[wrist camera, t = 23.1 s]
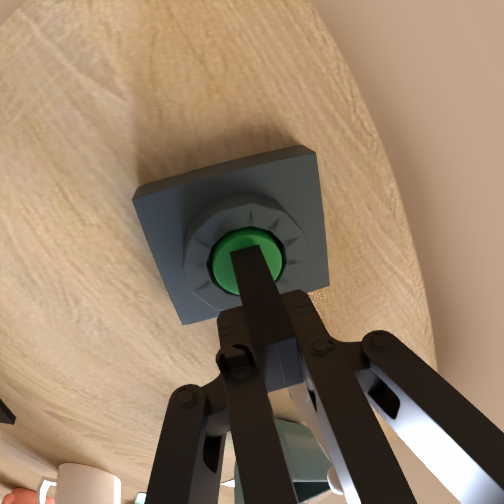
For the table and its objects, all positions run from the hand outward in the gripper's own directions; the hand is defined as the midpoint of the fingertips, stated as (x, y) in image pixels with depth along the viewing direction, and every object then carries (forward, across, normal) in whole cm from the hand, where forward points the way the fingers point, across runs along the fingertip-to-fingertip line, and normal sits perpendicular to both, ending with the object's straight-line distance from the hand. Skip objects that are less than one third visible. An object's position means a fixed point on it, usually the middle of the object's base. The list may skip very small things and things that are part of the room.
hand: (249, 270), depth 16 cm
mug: (+5, -33, -32) cm, 46 cm away
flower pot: (+5, -2, -26) cm, 26 cm away
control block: (+5, 0, 0) cm, 5 cm away
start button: (+2, 0, 0) cm, 2 cm away
